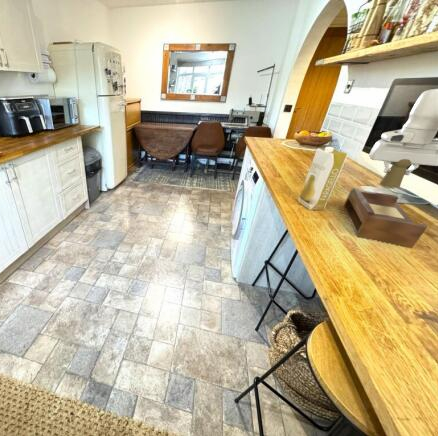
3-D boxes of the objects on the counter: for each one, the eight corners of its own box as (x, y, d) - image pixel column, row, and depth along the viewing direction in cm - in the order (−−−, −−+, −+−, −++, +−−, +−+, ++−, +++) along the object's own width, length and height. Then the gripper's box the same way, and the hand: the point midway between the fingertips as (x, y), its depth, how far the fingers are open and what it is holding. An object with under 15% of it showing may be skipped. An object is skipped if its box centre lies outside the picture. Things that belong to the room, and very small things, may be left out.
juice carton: (294, 201, 103) (314, 144, 90) (311, 200, 103) (334, 144, 91) (309, 211, 95) (333, 151, 82) (327, 210, 95) (354, 150, 83)
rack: (386, 214, 93) (398, 193, 88) (411, 248, 74) (429, 224, 70) (342, 206, 98) (352, 186, 94) (357, 237, 80) (370, 213, 75)
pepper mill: (403, 188, 91) (419, 160, 86) (383, 186, 93) (398, 158, 87) (394, 182, 96) (410, 155, 91) (376, 181, 98) (390, 154, 92)
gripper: (450, 137, 84) (427, 174, 91) (377, 132, 92) (361, 167, 99) (461, 141, 79) (436, 180, 86) (382, 136, 87) (365, 172, 94)
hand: (395, 173), depth 92 cm, fingers closed on pepper mill, 4 cm apart
